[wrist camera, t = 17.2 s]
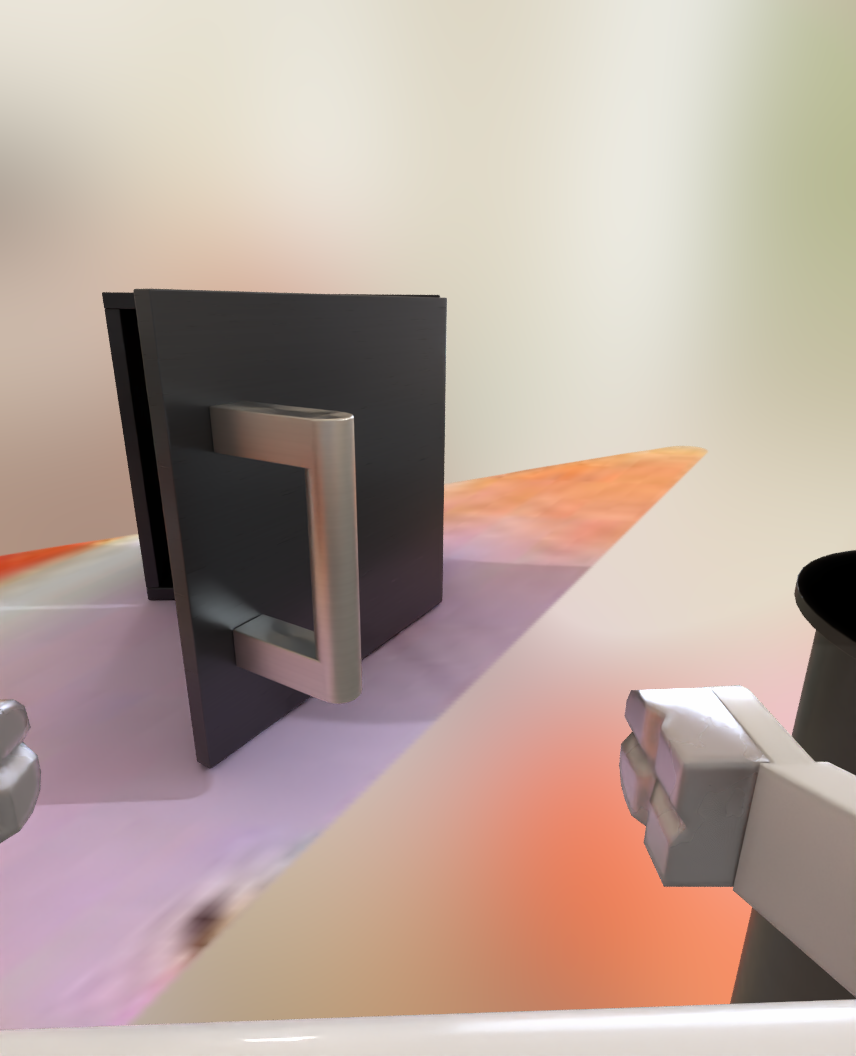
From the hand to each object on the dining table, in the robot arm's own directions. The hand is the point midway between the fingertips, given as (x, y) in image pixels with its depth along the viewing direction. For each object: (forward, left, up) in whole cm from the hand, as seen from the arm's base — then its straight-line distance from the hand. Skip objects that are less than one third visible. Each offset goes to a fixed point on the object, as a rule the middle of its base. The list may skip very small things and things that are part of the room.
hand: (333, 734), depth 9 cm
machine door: (-5, -18, -11) cm, 22 cm away
